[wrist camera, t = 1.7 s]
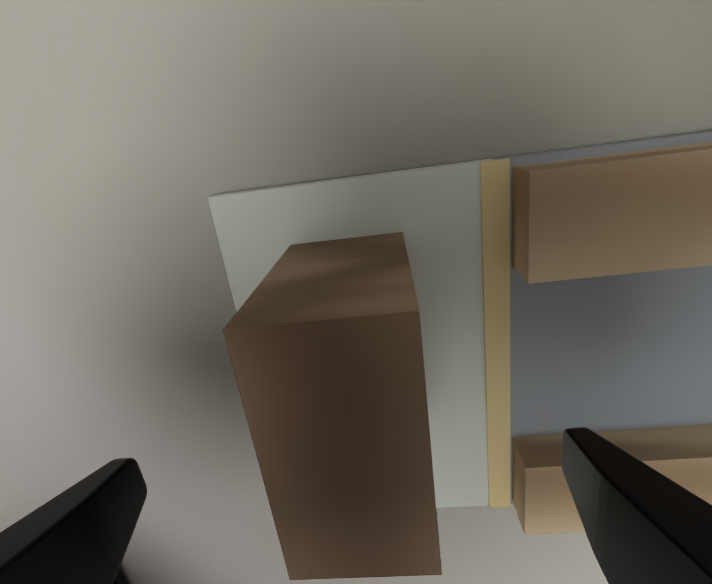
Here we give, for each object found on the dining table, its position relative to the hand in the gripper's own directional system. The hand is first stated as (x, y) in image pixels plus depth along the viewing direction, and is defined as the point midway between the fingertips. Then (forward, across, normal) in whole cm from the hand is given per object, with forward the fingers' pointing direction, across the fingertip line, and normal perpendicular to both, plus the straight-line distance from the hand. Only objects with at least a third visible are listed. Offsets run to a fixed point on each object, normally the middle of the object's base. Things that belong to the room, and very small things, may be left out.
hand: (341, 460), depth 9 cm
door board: (+6, -5, +1) cm, 8 cm away
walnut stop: (+6, 0, 0) cm, 6 cm away
